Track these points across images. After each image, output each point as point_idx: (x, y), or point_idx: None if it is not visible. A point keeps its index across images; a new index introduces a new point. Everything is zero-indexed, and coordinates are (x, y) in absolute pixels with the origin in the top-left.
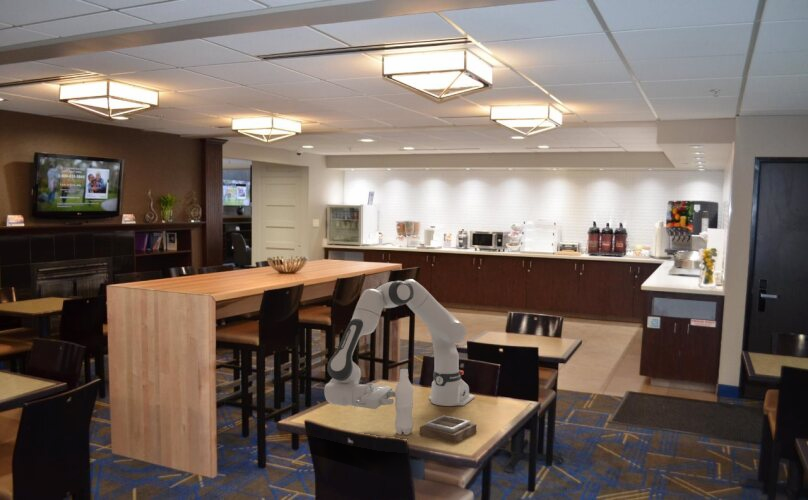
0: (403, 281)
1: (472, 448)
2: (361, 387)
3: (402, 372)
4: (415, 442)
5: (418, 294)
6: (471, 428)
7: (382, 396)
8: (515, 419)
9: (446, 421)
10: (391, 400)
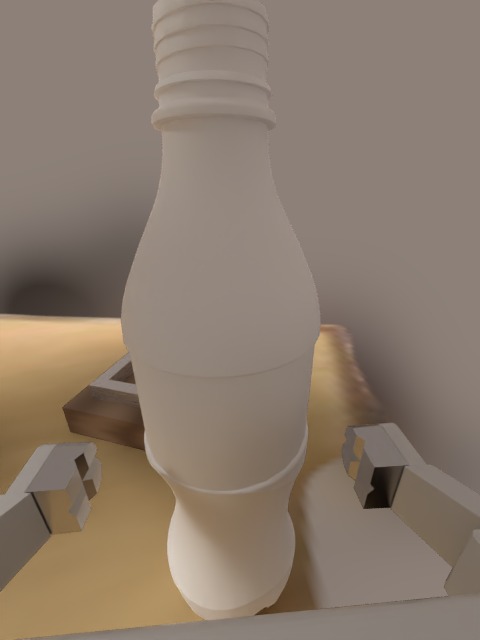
0: None
1: None
2: None
3: (265, 56)
4: (333, 455)
5: None
6: None
7: (424, 601)
8: (56, 318)
9: (131, 383)
10: (393, 428)
